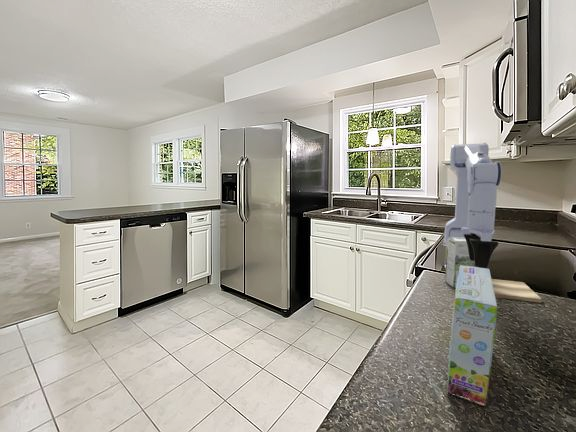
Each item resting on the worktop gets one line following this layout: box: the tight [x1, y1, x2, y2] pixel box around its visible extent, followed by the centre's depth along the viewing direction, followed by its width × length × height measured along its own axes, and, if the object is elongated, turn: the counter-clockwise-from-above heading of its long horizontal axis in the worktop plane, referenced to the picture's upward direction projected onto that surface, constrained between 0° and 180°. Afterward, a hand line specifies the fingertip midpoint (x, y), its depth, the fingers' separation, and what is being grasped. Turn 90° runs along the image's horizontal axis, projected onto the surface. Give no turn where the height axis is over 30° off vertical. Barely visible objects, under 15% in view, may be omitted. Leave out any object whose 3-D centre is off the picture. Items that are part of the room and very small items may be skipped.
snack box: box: [446, 265, 498, 404], centre depth 50 cm, size 21×6×15 cm, turn 148°
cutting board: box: [491, 278, 543, 303], centre depth 85 cm, size 14×14×1 cm
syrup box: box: [444, 237, 475, 289], centre depth 88 cm, size 6×6×14 cm
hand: (477, 264), depth 74 cm, fingers open, 7 cm apart
